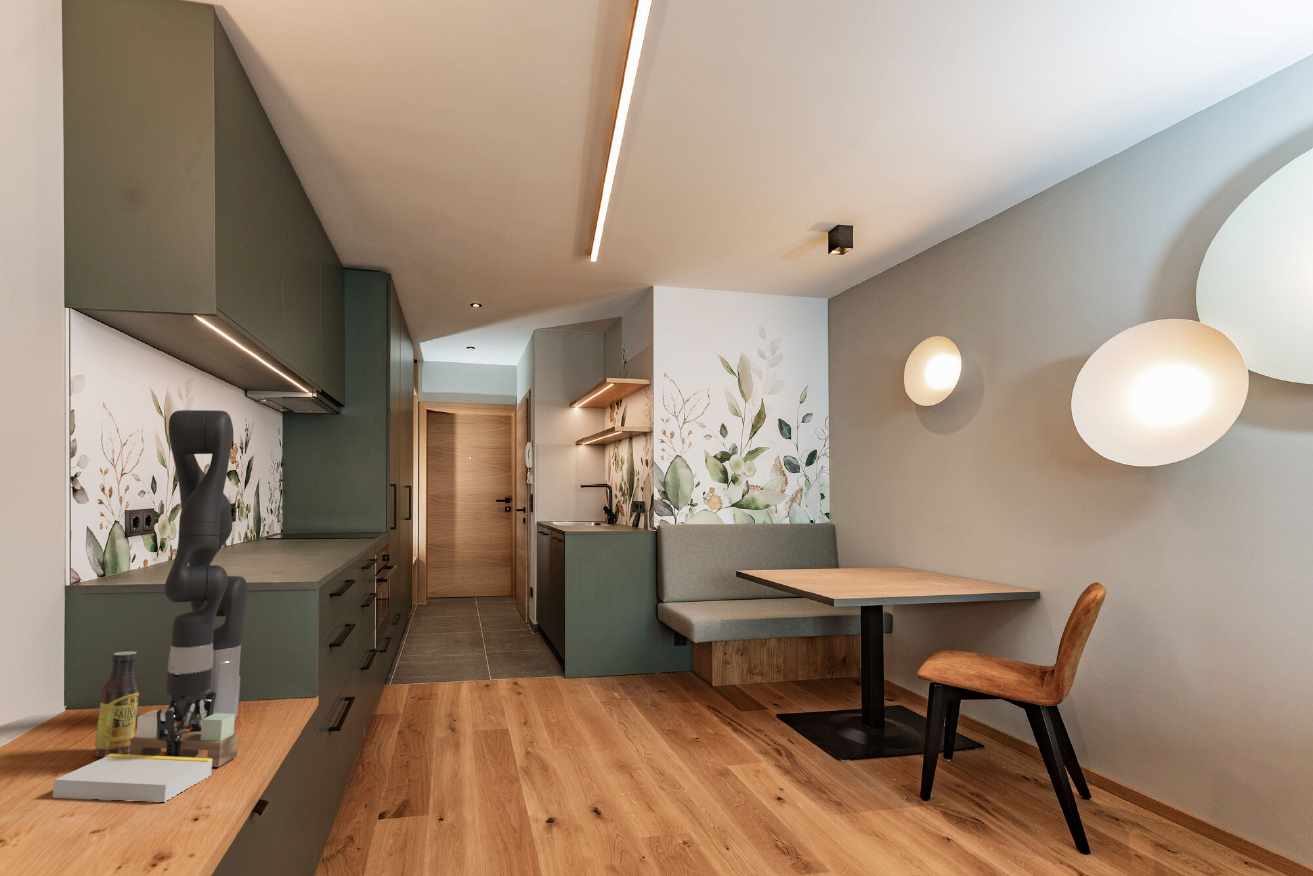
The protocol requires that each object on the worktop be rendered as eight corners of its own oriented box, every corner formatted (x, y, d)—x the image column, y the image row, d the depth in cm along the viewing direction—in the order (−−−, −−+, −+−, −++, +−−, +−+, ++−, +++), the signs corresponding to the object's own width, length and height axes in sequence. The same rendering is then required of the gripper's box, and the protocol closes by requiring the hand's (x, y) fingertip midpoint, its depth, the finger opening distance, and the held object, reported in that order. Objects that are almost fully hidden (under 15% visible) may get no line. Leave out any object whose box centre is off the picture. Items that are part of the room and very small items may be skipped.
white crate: (151, 730, 144) (153, 710, 144) (170, 731, 144) (172, 711, 144) (136, 737, 140) (137, 716, 140) (155, 738, 140) (157, 717, 140)
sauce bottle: (111, 761, 140) (120, 657, 142) (85, 757, 142) (95, 655, 143) (142, 749, 147) (150, 651, 148) (116, 746, 148) (125, 648, 150)
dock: (108, 771, 135) (110, 753, 136) (211, 776, 134) (212, 758, 135) (52, 797, 124) (54, 778, 124) (164, 803, 123) (166, 783, 123)
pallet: (150, 752, 144) (152, 729, 145) (236, 756, 144) (238, 733, 144) (128, 762, 139) (130, 738, 139) (218, 766, 138) (220, 742, 138)
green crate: (214, 733, 143) (215, 713, 144) (233, 734, 143) (234, 713, 143) (200, 740, 139) (202, 719, 140) (220, 741, 139) (222, 720, 139)
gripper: (196, 658, 150) (190, 741, 149) (145, 675, 136) (137, 767, 134) (231, 659, 150) (225, 742, 148) (183, 677, 135) (176, 769, 134)
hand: (183, 753), depth 141 cm, fingers closed on pallet, 5 cm apart
